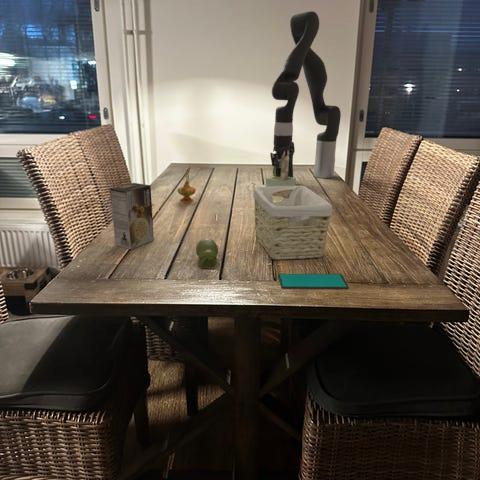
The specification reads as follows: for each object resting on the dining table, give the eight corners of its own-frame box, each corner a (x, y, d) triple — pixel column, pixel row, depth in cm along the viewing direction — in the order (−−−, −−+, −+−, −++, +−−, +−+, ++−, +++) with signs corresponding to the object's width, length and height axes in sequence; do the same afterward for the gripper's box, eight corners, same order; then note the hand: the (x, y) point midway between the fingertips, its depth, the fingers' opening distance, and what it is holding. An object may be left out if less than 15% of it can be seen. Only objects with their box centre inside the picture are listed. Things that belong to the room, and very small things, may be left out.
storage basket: (250, 233, 133) (252, 185, 128) (302, 231, 136) (305, 184, 131) (269, 263, 111) (271, 207, 106) (330, 260, 114) (335, 205, 109)
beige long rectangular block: (279, 183, 188) (281, 151, 183) (287, 184, 186) (289, 152, 181) (274, 184, 185) (275, 152, 181) (281, 186, 183) (283, 153, 178)
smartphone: (349, 287, 98) (281, 286, 97) (348, 290, 98) (281, 290, 98) (341, 273, 105) (278, 273, 104) (340, 277, 105) (278, 276, 105)
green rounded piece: (217, 234, 114) (220, 254, 105) (216, 252, 117) (219, 273, 108) (195, 235, 113) (196, 255, 105) (195, 252, 116) (196, 274, 107)
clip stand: (276, 184, 197) (276, 172, 195) (306, 190, 187) (307, 178, 185) (253, 190, 185) (254, 178, 184) (285, 196, 176) (285, 184, 174)
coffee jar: (293, 181, 204) (295, 140, 198) (292, 184, 197) (295, 142, 190) (272, 180, 205) (274, 139, 199) (271, 183, 198) (272, 141, 192)
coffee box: (138, 236, 128) (134, 182, 123) (154, 240, 125) (151, 185, 120) (114, 245, 121) (109, 188, 116) (131, 250, 118) (126, 191, 112)
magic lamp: (173, 207, 158) (172, 177, 154) (180, 195, 175) (179, 167, 171) (192, 207, 158) (192, 177, 154) (197, 195, 175) (197, 168, 171)
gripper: (285, 131, 186) (283, 172, 192) (265, 134, 175) (263, 176, 181) (300, 133, 181) (298, 174, 187) (280, 135, 171) (278, 179, 177)
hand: (281, 175), depth 184 cm, fingers closed on beige long rectangular block, 4 cm apart
